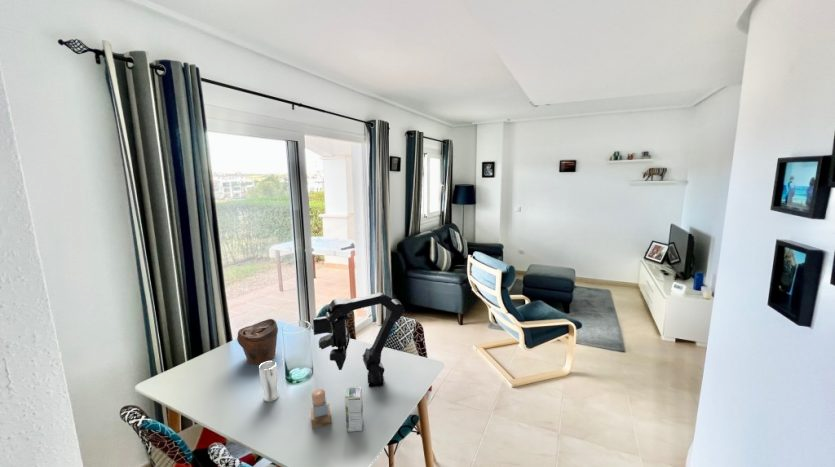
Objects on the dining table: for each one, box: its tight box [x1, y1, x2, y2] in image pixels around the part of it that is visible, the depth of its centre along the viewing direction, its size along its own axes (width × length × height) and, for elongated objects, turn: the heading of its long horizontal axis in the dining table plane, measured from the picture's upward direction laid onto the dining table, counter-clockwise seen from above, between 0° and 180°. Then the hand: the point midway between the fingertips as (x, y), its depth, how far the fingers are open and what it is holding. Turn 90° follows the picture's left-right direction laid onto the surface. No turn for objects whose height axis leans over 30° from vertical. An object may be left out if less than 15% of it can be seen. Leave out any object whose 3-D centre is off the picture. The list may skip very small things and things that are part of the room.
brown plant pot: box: [236, 318, 279, 365], centre depth 176 cm, size 18×20×18 cm
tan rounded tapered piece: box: [311, 388, 327, 407], centre depth 133 cm, size 5×5×4 cm
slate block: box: [312, 396, 328, 418], centre depth 134 cm, size 5×5×4 cm
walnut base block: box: [310, 402, 333, 430], centre depth 135 cm, size 7×7×4 cm
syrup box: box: [344, 386, 364, 433], centre depth 130 cm, size 6×6×14 cm
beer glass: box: [258, 360, 280, 403], centre depth 147 cm, size 7×7×15 cm
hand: (341, 363), depth 149 cm, fingers open, 9 cm apart
